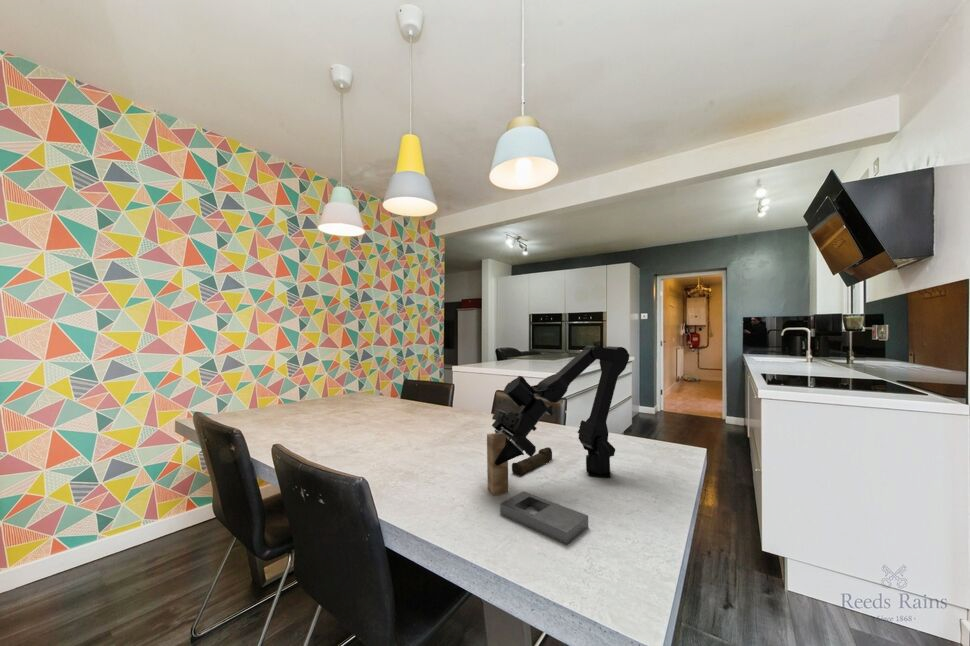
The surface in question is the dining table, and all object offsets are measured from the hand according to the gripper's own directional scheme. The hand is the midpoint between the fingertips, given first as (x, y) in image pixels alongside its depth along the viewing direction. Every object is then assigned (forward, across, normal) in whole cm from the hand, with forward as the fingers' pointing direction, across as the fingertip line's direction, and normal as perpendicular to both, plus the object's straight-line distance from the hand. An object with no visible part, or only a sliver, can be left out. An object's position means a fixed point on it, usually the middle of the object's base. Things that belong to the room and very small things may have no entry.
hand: (492, 461), depth 96 cm
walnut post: (+5, 0, +7) cm, 8 cm away
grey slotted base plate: (+2, +18, +10) cm, 20 cm away
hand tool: (-7, -12, +19) cm, 24 cm away
